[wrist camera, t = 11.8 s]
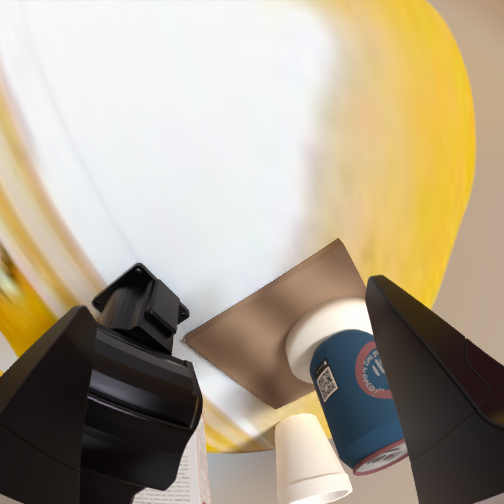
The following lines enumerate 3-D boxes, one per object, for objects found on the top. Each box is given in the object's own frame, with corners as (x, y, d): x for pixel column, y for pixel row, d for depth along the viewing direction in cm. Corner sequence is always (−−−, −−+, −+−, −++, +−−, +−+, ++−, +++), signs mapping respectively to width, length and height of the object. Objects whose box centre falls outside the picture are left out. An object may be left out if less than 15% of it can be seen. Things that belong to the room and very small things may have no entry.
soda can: (386, 328, 25) (448, 426, 15) (348, 376, 28) (390, 470, 17) (330, 316, 23) (391, 440, 13) (292, 370, 26) (327, 484, 15)
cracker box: (110, 421, 32) (97, 553, 14) (91, 397, 30) (67, 545, 11) (206, 419, 34) (220, 566, 15) (196, 394, 31) (207, 568, 12)
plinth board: (274, 403, 33) (278, 422, 31) (186, 334, 26) (184, 357, 23) (388, 338, 31) (399, 356, 28) (338, 238, 24) (353, 255, 21)
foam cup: (256, 420, 35) (271, 505, 23) (322, 400, 35) (351, 483, 23) (273, 443, 39) (288, 513, 28) (329, 426, 39) (352, 495, 28)
